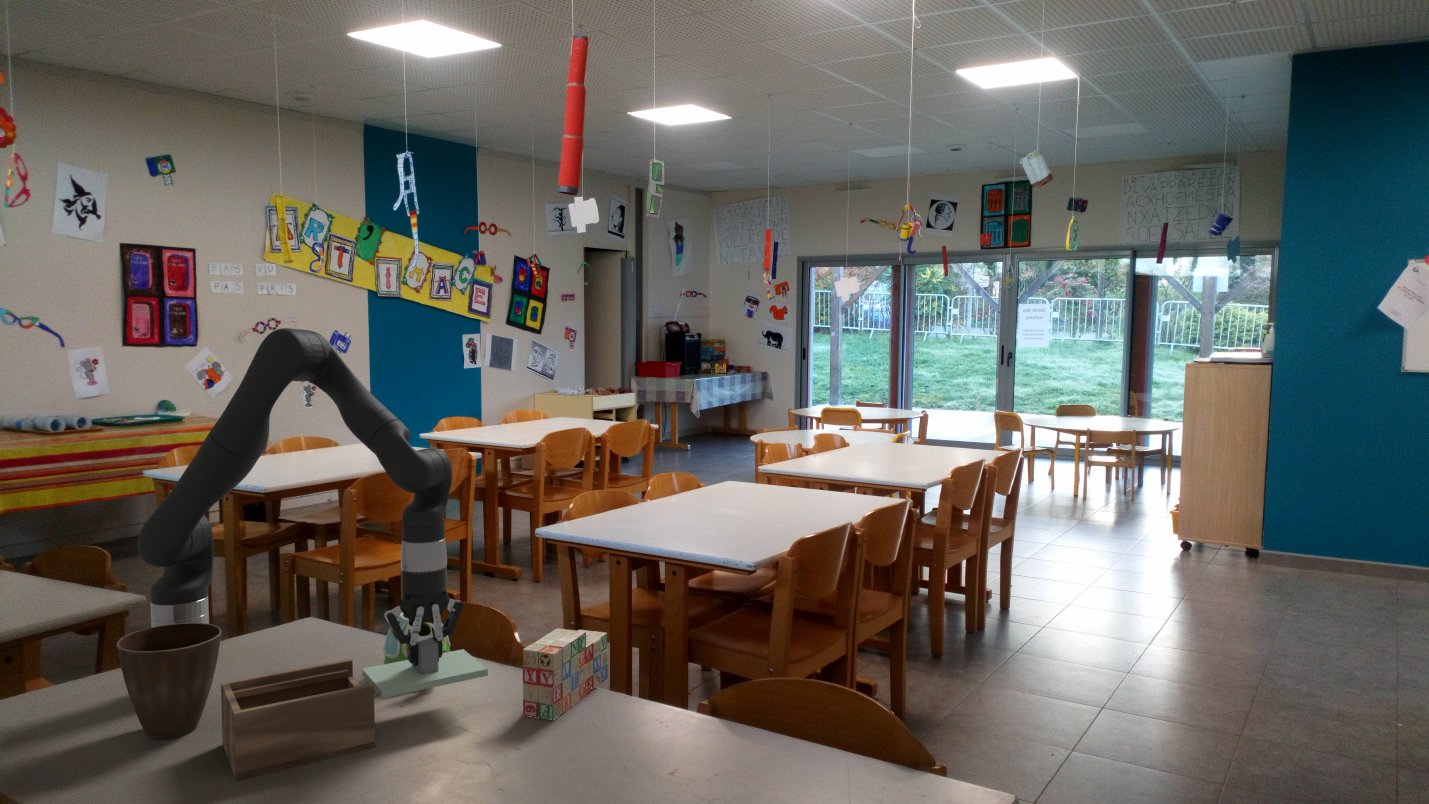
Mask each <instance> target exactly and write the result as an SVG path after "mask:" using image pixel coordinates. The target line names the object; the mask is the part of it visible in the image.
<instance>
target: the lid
mask: <svg viewBox="0 0 1429 804" xmlns="http://www.w3.org/2000/svg"><path fill="white" fill-rule="evenodd" d="M417 645H418V666H413V665H412V664H411V663H410V662H409V661H408V660H405V661H400V662H394V663H389V664H384V663H383V664H380V665H374V666H370V667H364V668H362V669H361V675H362V677H363V678H364V680H365V681H366V682H367V683H368V684H373V685H374V692H376V693H377V695H378V696H379V697H380V698H381V699H385V698H389V697H394V696H398V695H404V694H407V693H411V692H412V693H413V692H417V691H422V690H427V689H432V688H437V687H441V686H445V685H451V684H456V683H460V682H465V681H470V680H475V679H478V678H483V677H488V676H489V671H488V670H489V669H488V667H486V666H485V665H484V664H482V663H481V662H480V661H479V660H478V659H476V658H475V657H474V656H473V655H472V654H470V653H468V651H466V650H465V649H464V648H463V649H458V650H453V651H450V652H447V653H442V657H441V658H439V661H438V643H437V642H436V641H435V640H434V639H433V638H432V637H430V636H429V635H427V636H421V637H418V640H417Z"/></svg>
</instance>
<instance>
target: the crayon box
mask: <svg viewBox="0 0 1429 804" xmlns="http://www.w3.org/2000/svg"><path fill="white" fill-rule="evenodd" d="M353 663H354V662H353V659H352V658H349V659H343V660H338V661H331V662H327V663H322V664H321V663H320V664H316V665H312V666H311V665H310V666H305V667H299V668H294V669H289V670H284V671H283V670H282V671H279V672H277V671H276V672H272V673H266V674H262V675H256V676H251V677H246V678H239V679H234V680H230V681H229V680H228V681H224V682H220V695H221V696H220V699H221V700H220V701H221V732H222V733H221V735H222V739H221V741H222V743H221V744H222V747H223V749H224V752H225V755H226V758H227V760H228V762H229V765H230V769H231V771H232V773H233V775H234V778H235V779H234V780H235V781H240V780H245V779H248V778H253V777H257V776H261V775H266V774H271V773H273V772H279V771H281V770H282V771H283V770H286V769H292V768H295V767H298V766H303V765H308V764H311V763H316V762H319V761H324V760H328V759H331V758H336V757H340V756H344V755H348V754H352V753H357V752H361V751H364V750H365V751H366V750H370V749H373V748H376V735H375V734H376V731H375V720H376V719H375V714H376V713H375V690H374V685H373V684H369V683H368V684H364V685H361V684H360V683H359V681H358V680H357V679H356V678H355V676H354V671H353V669H354V667H353V665H354V664H353Z"/></svg>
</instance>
